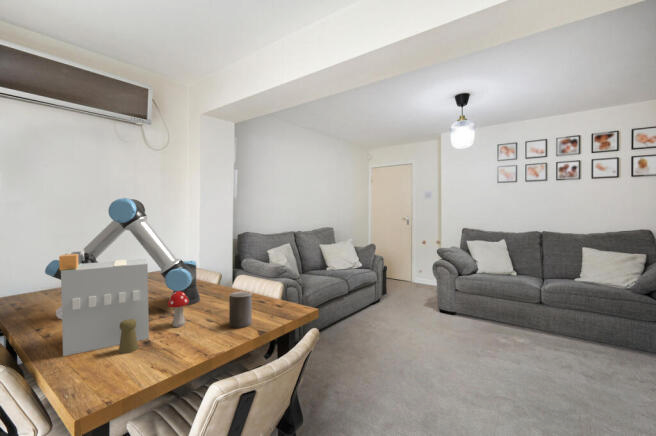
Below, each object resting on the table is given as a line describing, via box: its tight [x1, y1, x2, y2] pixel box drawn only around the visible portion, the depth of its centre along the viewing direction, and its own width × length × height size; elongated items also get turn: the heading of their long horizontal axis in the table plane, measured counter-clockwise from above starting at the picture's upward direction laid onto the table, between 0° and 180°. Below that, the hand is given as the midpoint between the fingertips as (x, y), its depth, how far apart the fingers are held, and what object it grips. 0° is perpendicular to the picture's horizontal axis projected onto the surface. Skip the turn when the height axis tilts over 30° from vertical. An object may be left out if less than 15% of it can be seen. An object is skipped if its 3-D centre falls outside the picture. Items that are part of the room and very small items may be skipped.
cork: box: [118, 319, 139, 355], centre depth 111 cm, size 6×6×11 cm
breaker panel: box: [60, 258, 150, 357], centre depth 119 cm, size 17×26×30 cm, turn 124°
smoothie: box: [55, 305, 62, 320], centre depth 145 cm, size 6×6×14 cm
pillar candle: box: [228, 290, 253, 329], centre depth 135 cm, size 10×10×15 cm
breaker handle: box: [58, 251, 83, 270], centre depth 117 cm, size 26×5×5 cm, turn 33°
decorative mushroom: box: [167, 291, 189, 328], centre depth 135 cm, size 10×9×15 cm
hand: (75, 251), depth 121 cm, fingers closed on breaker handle, 3 cm apart
